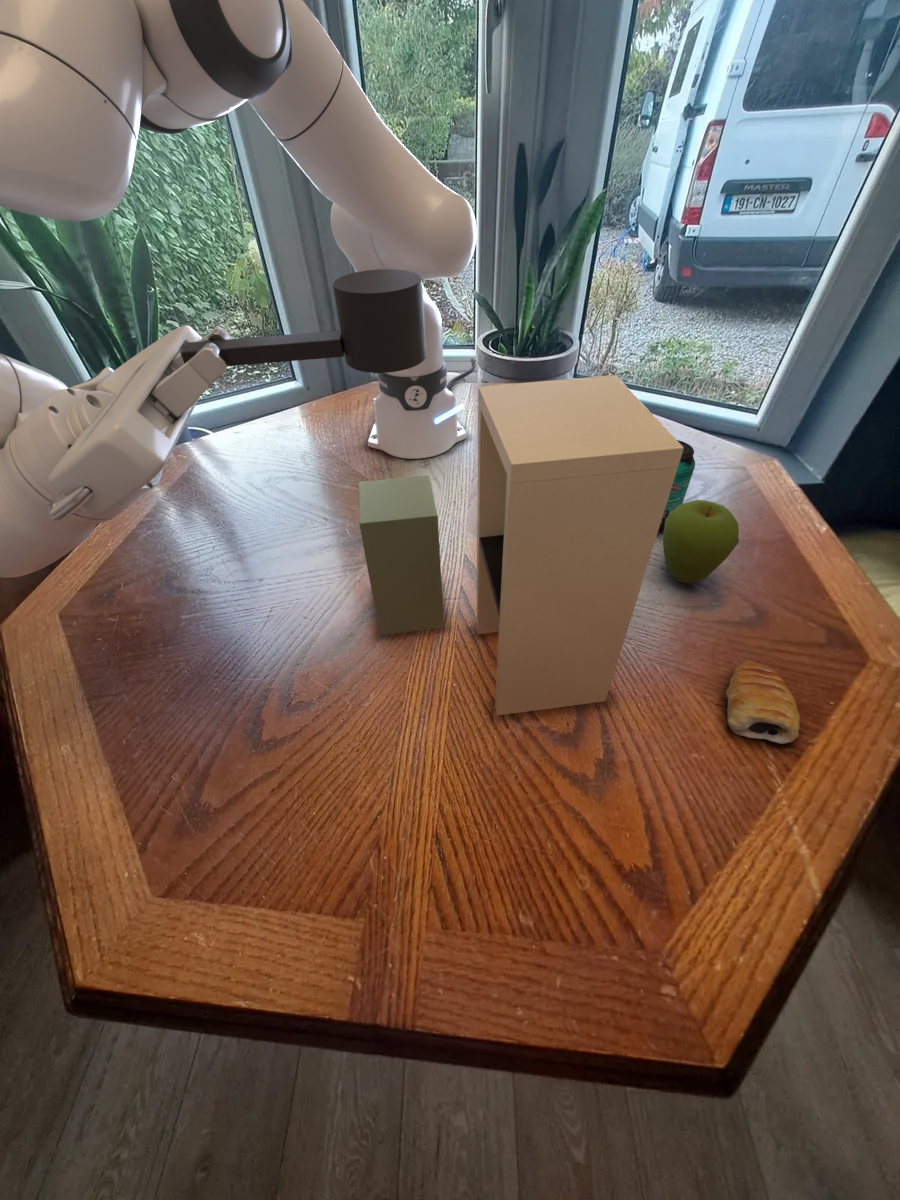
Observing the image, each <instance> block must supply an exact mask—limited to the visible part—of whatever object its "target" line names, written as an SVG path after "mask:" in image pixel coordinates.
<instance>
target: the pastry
mask: <svg viewBox="0 0 900 1200" xmlns="http://www.w3.org/2000/svg"><path fill="white" fill-rule="evenodd" d="M725 695H726V698H727V707H726V708H727V711H726V712H727V713H726V714H727V724H728V727H729V728H730V730H731V731H732V732H733V733H734V734H736V735H738V736H742V737H744V738H745V737H746V738H749V739H756V740H757V739H758V740H759V739H760V740H767V741H769V742H772V743H777V744H780V745H784V744H789V743H792V742H793V741H795V740H797V738H799V735H800V733H799V730H800V724H801V723H800V721H801V714H800V713H799V710H798V706H797V702H796V699H795V697H794V695H793V693H792V692H791V691H790V689H789V687H788V686H787V685H786V684H785V681H784V680H783V679H782V677H781V676H780V675H779V673H778V672H777V671H776V670H775V669H773V667H770V666H767V665H765V664H762V663H757V662H755V661H753V660H747V661H745V662H743V663H740V664H738V665H737V666H736V668H735V671H734V673H733V674H732V676H731V677H730V679H729V686H728V688H727V689H726V692H725Z"/></svg>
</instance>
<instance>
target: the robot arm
mask: <svg viewBox="0 0 900 1200" xmlns="http://www.w3.org/2000/svg"><path fill="white" fill-rule="evenodd" d="M245 102H247V103H248V104H249V105H250V106H251V107H252V108H253V111H255V112H256V114H257V115H258V117H259V118H260V119H261V121H262V122H263V124H264V125H265V126H266V128H267V129H268V130H269V131H270V133H271V134H272V135H273V136H274V138H275V139H276V140H277V141H278V142H279V144H280V145H281V147H282V148H283V149H284V150H285V151H286V152H287V154H288V155H289V156H290V158H291V159H292V160H293V161H294V162H295V163H296V165H297V166H298V167H299V168H300V170H301V171H302V172H303V174H304V175H305V176H306V177H307V178H308V179H309V181H310V182H311V183H312V184H313V186H314V187H315V188H316V189H317V190H318V192H319V193H320V194H321V195H323V196H324V197H325V198H326V199H327V200H329V201H330V202H332V205H331V210H330V228H331V232H332V236H333V238H334V241H335V243H336V245H337V247H338V248H339V249H340V251H341V252H342V253H343V254H344V256H345V257H346V258H347V260H348V261H349V263H350V265H351V266H352V268H353V270H354V273H356V272H361V271H368V270H380V269H394V270H405V271H410V272H414V273H416V274H418V275H420V276H421V278H422V280H427V281H429V280H430V281H431V280H441V279H450V278H455V277H457V276H459V275H460V274H462V272H464V270H465V269H466V268H467V267H468V265H469V263H470V262H471V260H472V258H473V255H474V252H475V248H476V243H477V235H478V231H477V223H476V217H475V213H474V211H473V208H472V205H470V203H469V201H468V200H467V199H466V198H465V197H463V196H462V195H460V194H458V193H457V192H455V191H454V190H452V189H451V188H449V187H448V186H446V185H445V184H444V183H443V182H441V180H439V179H438V178H437V177H436V176H434V174H433V173H431V172H430V170H428V169H427V168H426V166H424V165H423V164H422V162H420V160H419V159H418V158H417V157H416V156H415V155H414V154H413V153H412V152H411V151H410V150H409V149H408V148H407V147H406V145H404V144H403V143H402V141H401V140H399V138H398V137H397V136H396V135H395V134H394V133H393V131H391V129H389V127H388V126H387V124H385V122H384V121H383V119H382V118H381V117H380V115H379V114H378V112H377V111H376V109H375V108H374V106H373V104H372V103H371V101H370V99H369V98H368V96H367V95H366V93H365V92H364V90H363V88H362V87H361V85H360V84H359V82H358V81H357V79H356V77H355V76H354V74H353V73H352V70H351V69H350V67H349V66H348V65H347V63H346V62H345V60H344V58H343V56H342V55H341V53H340V52H339V50H338V48H337V47H336V45H335V44H334V42H333V41H332V39H331V37H330V36H329V35H328V32H327V31H326V30H325V28H324V27H323V26H322V23H320V21H319V20H318V18H317V17H316V16H315V15H314V13H313V12H312V11H311V9H310V8H309V6H308V5H307V4H306V3H305V1H304V0H0V207H1V208H6V209H9V210H12V211H16V212H20V213H23V214H26V215H30V216H33V217H39V218H44V219H47V220H48V219H50V220H55V221H63V222H87V221H93V220H96V219H100V218H102V217H104V216H106V215H108V214H110V213H111V212H112V211H114V209H115V210H116V208H117V207H118V206H120V204H121V202H122V200H123V198H124V197H125V194H126V193H127V189H128V187H129V184H130V182H131V181H130V180H131V176H132V172H133V167H134V161H135V156H136V151H137V150H136V149H137V145H138V138H139V131H140V128H142V129H143V130H146V131H149V132H152V133H157V134H163V135H171V134H172V135H173V134H175V135H176V134H180V133H184V132H185V131H187V130H188V129H189V128H190V129H191V128H195V127H196V128H197V127H200V126H204V125H208V124H210V123H213V122H216V121H218V120H221V119H223V118H224V117H225V116H227V115H228V114H229V113H230V112H231V111H233V110H235V109H236V108H238V107H240V106H241V105H243V104H245ZM422 291H423V308H424V324H425V340H426V358H425V360H424V361H423V362H421V363H420V364H418V365H417V366H414V367H412V368H409V369H406V370H402V371H396V372H389V373H377V382H378V387H379V390H380V392H379V394H378V396H376V397H375V398H373V399H372V410H373V412H374V423H373V426H372V428H371V432H370V434H369V436H368V440H367V445H368V448H372V449H375V450H381V451H383V452H384V453H386V454H388V455H390V456H392V457H395V458H402V459H407V460H408V459H409V460H416V459H417V460H419V459H420V460H421V459H428V458H431V457H436V456H438V455H441V454H444V453H445V452H447V451H449V450H450V449H451V448H453V446H454V445H456V443H459V442H461V441H463V440H465V439H466V438H467V431H466V429H465V428H464V427H463V425H461V423H460V422H459V421H458V417H457V416H458V415H457V413H459V412H461V411H462V410H463V409H465V408H464V403H461V404H460V405H458V406H457V400H456V395H454V394H453V392H452V391H451V390H450V389H451V387H452V385H453V384H455V383H456V382H457V381H458V382H459V381H460V380H462V379H463V378H465V377H468V376H469V375H471V374H472V373H473V372H474V371H475V369H476V360H475V358H474V357H471V359H470V363H471V367H470V368H469V369H468V370H467V371H465V372H463V373H460V374H459V375H457V376H455V377H453V378H452V379H450V381H447V380H448V371H447V365H446V362H445V360H444V345H443V340H444V339H443V320H442V315H441V313H440V310H439V308H438V306H437V305H436V304H435V302H434V301H433V300H432V299H431V297H430V296H429V294H428V293H427V291H426V288H425V286H424V284H423V283H422ZM227 339H234V337H232V335H231V334H230V333H229V332H228V331H227V329H225V327H222V326H216V327H214V328H213V329H212V330H211V331H210V332H208V333H207V334H206V335H205V336H203V337H202V336H200V335H199V333H198V332H197V331H196V330H195V329H194V328H192V327H191V326H190V325H188V324H187V325H186V324H185V325H181V326H179V327H176V328H175V329H173V330H171V331H169V332H167V333H166V334H165V335H163V336H161V337H160V338H158V339H157V340H156V341H154V342H153V343H151V344H149V346H147V347H146V348H144V349H143V350H141V351H140V352H138V353H137V354H135V355H134V356H132V357H131V358H129V359H128V360H126V361H125V362H124V363H123V364H121V365H120V366H118V367H117V368H116V369H115V370H114V369H113V368H111V367H109V366H106V367H104V368H103V369H101V370H99V371H98V372H97V373H96V374H95V375H94V376H92V377H91V378H89V379H88V380H86V381H84V382H82V383H80V384H76V385H73V386H69V385H68V384H66V382H65V381H63V380H61V379H60V378H58V377H56V376H53V375H52V374H50V373H48V372H46V371H44V370H41V369H39V368H37V367H34V366H32V365H30V364H27V363H25V362H23V361H20V360H17V359H16V358H12V357H10V356H8V355H6V354H3V353H0V578H5V579H6V578H8V579H9V578H19V577H23V576H26V575H30V574H33V573H35V572H37V571H40V570H41V569H44V568H46V567H48V566H50V565H51V564H54V562H55V563H56V562H57V561H58V560H61V558H63V557H65V556H66V555H67V554H69V553H70V552H72V551H73V550H75V548H78V546H80V545H81V544H82V543H84V542H85V541H86V540H87V539H88V538H89V537H90V536H91V535H92V533H93V532H94V530H95V528H96V526H97V525H99V524H101V523H105V522H107V521H110V520H111V521H112V519H115V518H116V517H118V516H119V515H120V514H122V513H123V512H124V511H126V510H127V509H128V508H130V507H131V506H132V505H133V504H135V503H136V502H138V500H140V499H141V498H142V497H144V496H145V495H147V494H148V493H149V492H150V491H152V490H153V489H154V488H155V487H157V486H158V485H159V484H160V482H161V480H162V478H163V477H162V476H163V469H164V468H165V467H166V465H167V463H168V462H169V460H170V457H171V455H172V453H173V451H174V449H175V447H176V446H177V444H178V442H179V439H180V438H181V435H182V434H183V431H184V429H185V427H186V425H187V424H188V421H189V419H190V418H191V415H192V413H193V411H194V410H195V407H196V405H197V404H198V401H199V399H200V398H201V396H202V395H203V394H204V393H205V392H206V391H207V389H208V388H209V387H210V386H211V385H212V384H213V383H215V382H216V381H217V380H218V379H219V378H220V377H222V376H223V375H224V374H226V370H227V368H228V366H227V365H228V363H229V362H228V358H227V357H226V356H225V355H224V353H222V352H221V351H220V349H219V348H218V347H217V346H216V345H215V344H213V343H207V344H206V345H205V346H204V347H202V348H201V349H200V350H199V351H198V352H196V353H195V354H194V355H193V356H192V358H191V359H190V360H189V361H187V362H186V363H185V364H184V361H183V359H182V356H181V353H180V352H181V351H182V349H183V348H184V346H185V344H186V343H188V342H201V341H214V340H227Z"/></svg>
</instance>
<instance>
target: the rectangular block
mask: <svg viewBox="0 0 900 1200" xmlns="http://www.w3.org/2000/svg"><path fill="white" fill-rule="evenodd" d="M438 515H439V514H438V509H437V505H436V500H435V496H434V490H433V485H432V480H431V475H430V474H427V475H415V476H405V477H404V476H403V477H394V478H385V479H384V478H383V479H374V480H363V481H358V525H359V530H360V536H361V541H362V547H363V550H364V551H363V552H364V557H365V562H366V563H365V564H366V568H367V573H368V578H369V584H370V589H371V593H372V600H373V605H374V610H375V615H376V623H377V626H378V627H377V628H378V632H379V636H389V635H397V634H405V633H413V632H421V631H430V630H437V629H445V620H444V619H445V618H444V604H443V603H444V602H443V601H444V600H443V584H442V582H443V581H442V568H441V567H442V565H441V549H440V548H441V547H440V532H439V529H440V528H439V516H438Z"/></svg>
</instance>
